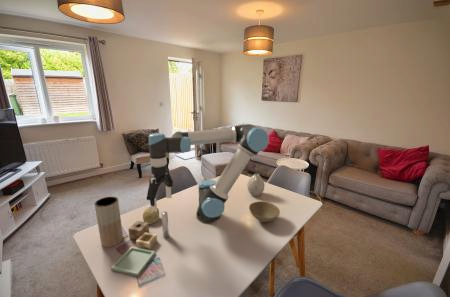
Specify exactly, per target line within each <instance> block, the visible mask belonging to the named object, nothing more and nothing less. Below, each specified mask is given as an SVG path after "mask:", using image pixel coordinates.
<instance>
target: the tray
mask: <svg viewBox="0 0 450 297" xmlns="http://www.w3.org/2000/svg"><path fill="white" fill-rule="evenodd" d="M155 255H156V251H155V250H152V249H150V250H147V249H143V248H138V247H136V246H133V245H131V246H130V247H128V249H127V250H126V251H125V252H124V253H123V255H121V257H119V258H118V260H117V261H116V262H114V264H112V266H111V267H110V269H111V271H113V272H118V273H121V274H126V275H129V276H133V277H139V276H140V275H141V273H142V272H143V270H144V269H145V268H146V267H147V265H148V264H149V263H150V262H151V261H152V259H153V258H154V256H155ZM145 266H146V267H145ZM144 267H145V268H144ZM138 275H139V276H138Z"/></svg>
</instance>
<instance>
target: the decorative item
mask: <svg viewBox="0 0 450 297" xmlns="http://www.w3.org/2000/svg"><path fill="white" fill-rule="evenodd" d="M159 218H160V209H159V208H158V207H157V212H155V211H151V206H150V207H147V208H145V210H144V211H143V214H142V220H143V222H146V223H148V224H149V225H152V224H155V223H157V222H158V221H159Z"/></svg>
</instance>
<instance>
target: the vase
mask: <svg viewBox="0 0 450 297" xmlns="http://www.w3.org/2000/svg"><path fill="white" fill-rule="evenodd" d="M246 185H247V190H248V193H249V194H250V195H251V196H252V195H253V196H252V197H255V196H257V197H260V196H261V195H262V194H263V193H264V191H265V182H264V178H263V177H261V175H260V173H254V174H253V175H251V177H250V178H249V179H248V181H247V184H246ZM259 195H260V196H259Z"/></svg>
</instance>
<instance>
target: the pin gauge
mask: <svg viewBox="0 0 450 297" xmlns="http://www.w3.org/2000/svg"><path fill="white" fill-rule="evenodd" d="M168 217H169V216H168V212H167V211H162V212H161V225H162V227H161V228H162V229H161V230H162V237H163V238H164V239H167V238H169V237H170V233H169V232H170V231H169V230H170V229H169V220H168V219H169V218H168Z"/></svg>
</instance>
